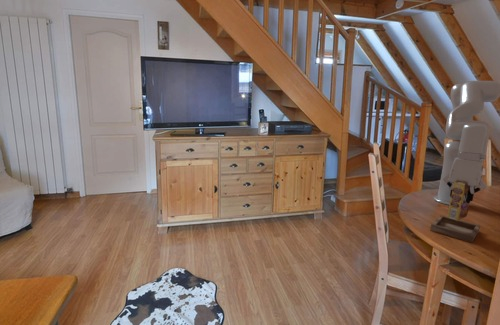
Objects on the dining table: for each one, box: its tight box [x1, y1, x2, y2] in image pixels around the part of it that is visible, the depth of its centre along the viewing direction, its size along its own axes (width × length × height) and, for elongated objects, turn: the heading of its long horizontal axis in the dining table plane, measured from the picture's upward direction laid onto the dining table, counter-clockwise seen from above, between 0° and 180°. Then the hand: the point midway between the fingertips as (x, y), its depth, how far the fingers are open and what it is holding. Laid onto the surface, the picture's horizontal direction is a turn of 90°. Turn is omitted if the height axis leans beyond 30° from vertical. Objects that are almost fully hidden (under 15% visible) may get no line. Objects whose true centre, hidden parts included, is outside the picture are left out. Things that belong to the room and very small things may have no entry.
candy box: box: [446, 182, 471, 221], centre depth 124 cm, size 9×4×15 cm, turn 125°
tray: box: [430, 215, 481, 244], centre depth 127 cm, size 14×14×2 cm
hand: (460, 200), depth 124 cm, fingers closed on candy box, 4 cm apart
